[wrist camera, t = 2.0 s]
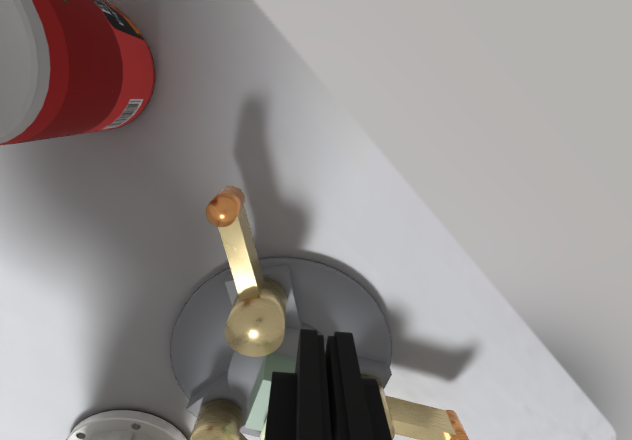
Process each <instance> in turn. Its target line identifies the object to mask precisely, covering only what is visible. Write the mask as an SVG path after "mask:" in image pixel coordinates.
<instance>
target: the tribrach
mask: <svg viewBox="0 0 632 440" xmlns="http://www.w3.org/2000/svg"><path fill="white" fill-rule="evenodd" d="M259 263H260V267H261V270H262V274H263V278H267V279H271V280H273V281H275V282H277V283H278V284H279V285H281V287H282V288H283V289H284V291H285V293H286V296H287V306H286V319H285V331H284V339H283V341H282V344H281V345H280V346H279V348H278V349H277V350H275V351H274V352H272V353H270V354H268V355H265V356H261V357H250V356H245V355H242V354H240V353H238V352H237V351H235V350H234V349H233V348H232V347H231V346H230V345H229V344H228V342H227V340H226V337H225V327H226V323H227V321H228V318H229V315H230V312H231V309H232V306H233V303H234V300H235V297H236V295H237V292H238V291H237V288H236V285H235V281H234V278H233V275H232V272H231V268H228V269H226V270H224V271H222V272H221V273H219V274H217V275H215V276H214V277H212V278H211V279H210V280H208V281H207V282H205V283H204V284H203V285H202V286H201V287H200V288H199V289H198V290H197V291H196V292H195V293H194V294H193V295H192V296H191V298H190V299H189V300H188V302H187V303H186V304H185V306H184V308H183V310H182V312H181V313H180V315H179V317H178V319H177V321H176V324H175V327H174V330H173V333H172V339H171V361H172V367H173V370H174V373H175V376H176V379H177V381H178V383H179V385H180V387H181V389H182V390H183V392H184V393H185V394H186V396H187V397H188V399H189V400H190V401H189V403H188V406H187V408H186V410H188V411H189V412H190V413H192V414H193V415H194V416H196V417H197V416H198V413H199V410H200V408H201V407H202V406H203V405H204V404H206V403H207V402H209V401H213V400H227V401H230V402H232V403H234V404H236V405H237V406H238V407H239V408H240V409H241V411H242V414H243V420H242V425H241V430H240V432H241V433H244V434H248V435H251V436H257V437H260V440H264V438H265V430H266V422H267V413H268V405H269V396H270V388H271V379H272V372H288V373H295V366H296V358H297V350H298V342H299V334H300V329H310V330H317V333H318V335H323V336H324V347H325V351H326V344H327V338H328V336H334V332H335V331H336V332H350V333H352V334H353V338H354V343H355V348H356V353H357V358H358V363H359V368H360V373H361V375H368V376H372V377H374V378H376V379H377V380H379V381H380V383H381V384H382V386H383V390H384V388H385V386H386V384H387V382H388V380H389V379H390V377H391V375H392V374H391V371H390V368H389V367H390V364H391V355H392V347H391V338H390V333H389V329H388V326H387V324H386V321H385V318H384V316H383V313H382V311H381V310H380V308H379V306H378V304H377V303H376V301H375V300H374V299H373V298H372V296H371V295H370V294H369V293H368V291H366V290H365V289H364V288H363V287H362V286H361V285H360V284H359V283H358V282H356V281H355V280H354V279H352V278H351V277H349V276H348V275H346V274H344V273H343V272H341V271H339V270H337V269H335V268H333V267H330V266H327V265H325V264H322V263H319V262H315V261H311V260H307V259H300V258H292V257H271V258H263V259H259Z"/></svg>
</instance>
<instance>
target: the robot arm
mask: <svg viewBox="0 0 632 440" xmlns="http://www.w3.org/2000/svg"><path fill="white" fill-rule="evenodd" d="M66 440H187V439H186V438H185V437H184V435H183V434H182V433H181V432H180V431H179V430H178V429H177V428H176V427H174V426H173V425H172V424H170V423H168V422H167V421H165V420H163V419H161V418H159V417H156V416H154V415H151V414H147V413H143V412H140V411H131V410H113V411H107V412H101V413H98V414H95V415H93V416H90V417H88V418H87V419H85V420H83V421H81V422H80V423H79V424H78V425H77V426H76V427H75V428H74V429H73V431H72V432H71V433H70V435H69V436H68V437H67V439H66ZM264 440H392V437H391V433H390V429H389V425H388V421H387V418H386V414H385V410H384V406H383V402H382V398H381V394H380V390H379V386H378V383H377V381H376V379H375V378H362V377H361V373H360V368H359V363H358V358H357V353H356V348H355V343H354V338H353V334H352V333H350V332H336V331H335V332H334V336H328V338H327V344H326V351H325V347H324V336H323V335H318V333H317V330H310V329H300V334H299V342H298V350H297V358H296V366H295V373H288V372H272V379H271V388H270V396H269V405H268V413H267V422H266V430H265V438H264Z"/></svg>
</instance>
